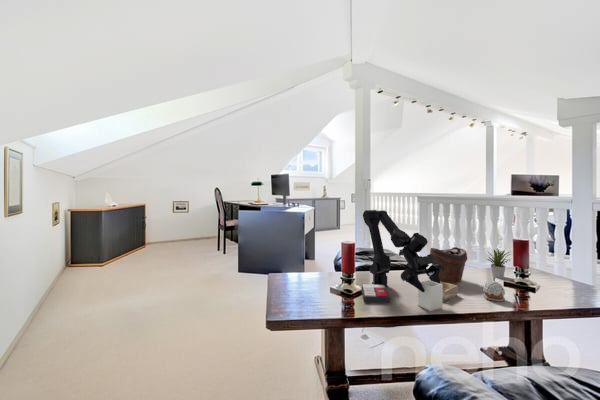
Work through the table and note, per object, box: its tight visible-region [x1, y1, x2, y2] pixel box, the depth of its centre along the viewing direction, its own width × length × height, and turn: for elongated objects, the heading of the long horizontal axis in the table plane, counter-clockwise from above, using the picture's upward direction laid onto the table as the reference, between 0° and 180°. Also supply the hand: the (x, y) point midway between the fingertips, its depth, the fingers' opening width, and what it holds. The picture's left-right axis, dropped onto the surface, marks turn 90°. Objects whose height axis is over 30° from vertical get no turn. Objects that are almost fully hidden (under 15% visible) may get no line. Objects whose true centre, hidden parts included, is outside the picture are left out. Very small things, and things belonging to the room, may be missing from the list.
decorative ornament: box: [483, 265, 506, 302], centre depth 135 cm, size 8×8×15 cm
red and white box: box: [361, 283, 391, 304], centre depth 139 cm, size 11×4×15 cm
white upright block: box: [417, 279, 443, 312], centre depth 126 cm, size 6×6×10 cm
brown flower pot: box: [429, 247, 468, 284], centre depth 164 cm, size 18×20×18 cm
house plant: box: [486, 247, 514, 279], centre depth 168 cm, size 14×14×16 cm
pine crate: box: [440, 282, 458, 302], centre depth 141 cm, size 12×12×4 cm
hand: (432, 290), depth 125 cm, fingers open, 9 cm apart
